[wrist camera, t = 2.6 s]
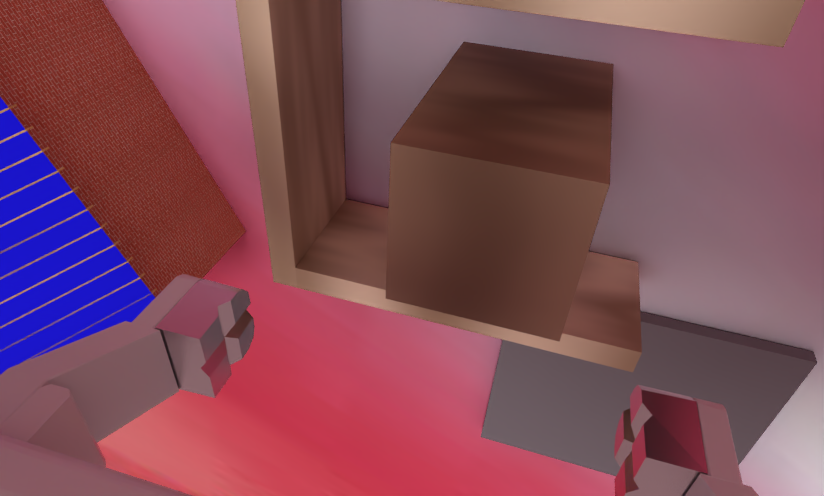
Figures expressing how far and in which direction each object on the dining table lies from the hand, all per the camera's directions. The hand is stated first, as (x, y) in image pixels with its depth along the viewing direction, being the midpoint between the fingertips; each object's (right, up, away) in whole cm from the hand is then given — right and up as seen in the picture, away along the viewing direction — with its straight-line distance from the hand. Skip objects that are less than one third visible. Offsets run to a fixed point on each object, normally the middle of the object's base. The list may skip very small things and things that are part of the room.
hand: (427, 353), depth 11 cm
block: (+4, +7, +9) cm, 12 cm away
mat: (+10, -5, +15) cm, 19 cm away
